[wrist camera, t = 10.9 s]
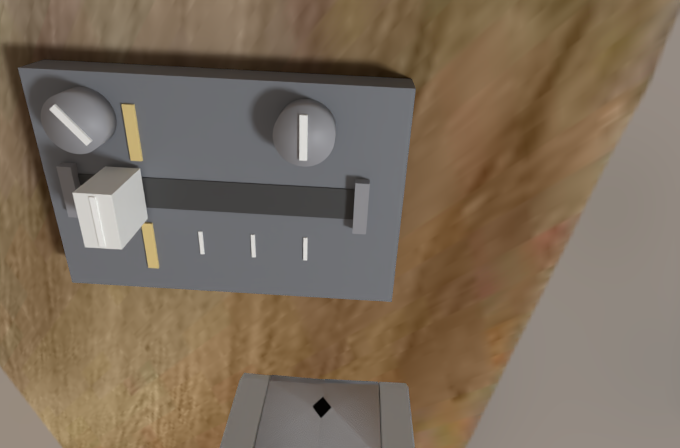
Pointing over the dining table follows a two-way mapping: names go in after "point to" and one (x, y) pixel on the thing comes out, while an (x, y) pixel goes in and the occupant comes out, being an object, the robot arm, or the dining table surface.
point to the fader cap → (111, 207)
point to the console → (231, 174)
